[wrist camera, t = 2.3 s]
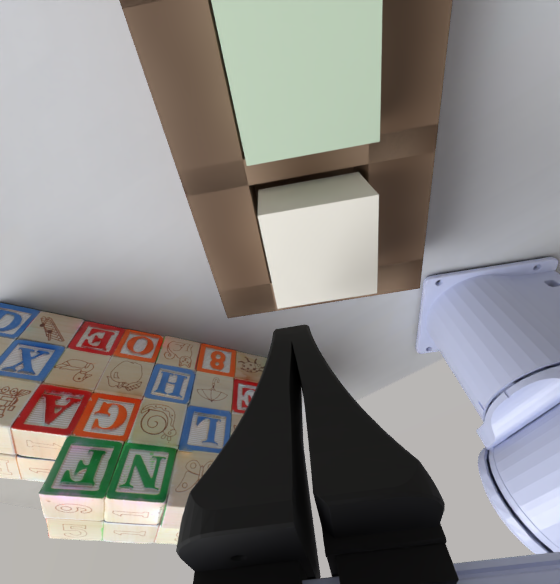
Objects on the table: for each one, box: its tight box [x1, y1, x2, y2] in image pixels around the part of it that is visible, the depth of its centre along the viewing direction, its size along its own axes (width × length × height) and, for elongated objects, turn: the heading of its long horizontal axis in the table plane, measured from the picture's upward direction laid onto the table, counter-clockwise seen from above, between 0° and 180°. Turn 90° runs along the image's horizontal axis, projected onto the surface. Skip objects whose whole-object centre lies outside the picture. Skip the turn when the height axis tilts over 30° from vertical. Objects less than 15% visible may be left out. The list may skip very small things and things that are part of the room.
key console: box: [119, 0, 452, 318], centre depth 15 cm, size 12×24×4 cm, turn 9°
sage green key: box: [211, 0, 383, 166], centre depth 12 cm, size 5×5×3 cm
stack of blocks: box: [0, 303, 267, 544], centre depth 23 cm, size 21×6×12 cm, turn 71°
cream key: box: [258, 172, 379, 309], centre depth 16 cm, size 5×5×3 cm
